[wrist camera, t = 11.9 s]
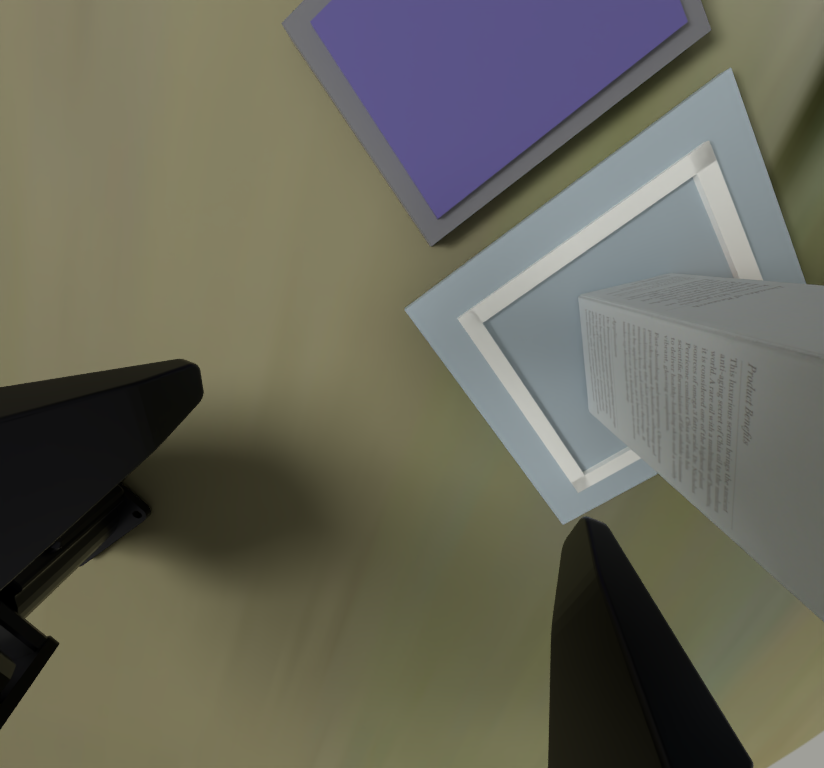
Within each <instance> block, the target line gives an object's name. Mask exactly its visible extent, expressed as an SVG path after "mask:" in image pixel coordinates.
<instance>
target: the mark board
mask: <svg viewBox="0 0 824 768" xmlns="http://www.w3.org/2000/svg"><path fill="white" fill-rule="evenodd" d="M668 273H678V274H690V275H701V276H713V277H725V278H737V279H750V280H763V281H775V282H786V283H799V284H806V282H805V279H804V276H803V273H802V270H801V267H800V265H799V262H798V259H797V256H796V253H795V250H794V247H793V244H792V242H791V239H790V236H789V233H788V230H787V227H786V224H785V221H784V219H783V216H782V213H781V210H780V207H779V204H778V201H777V198H776V196H775V193H774V190H773V187H772V184H771V181H770V178H769V175H768V173H767V170H766V167H765V164H764V161H763V158H762V155H761V152H760V150H759V147H758V144H757V141H756V138H755V135H754V132H753V129H752V127H751V124H750V121H749V118H748V115H747V112H746V109H745V106H744V104H743V101H742V98H741V95H740V92H739V89H738V86H737V83H736V81H735V78H734V75H733V72H732V69H731V68H729V69H727V70H725V71H724V72H722V73H720V74H718V75H717V76H716V77H714V78H713V79H712V80H710V81H709V82H707V83H706V84H705V85H703V86H702V87H701V88H699V89H698V90H697V91H695V92H694V93H693V94H691V95H690V96H689V97H687V98H686V99H685V100H683V101H682V102H681V103H679V104H678V105H677V106H675V107H674V108H673V109H671V110H670V111H669V112H667V113H666V114H665V115H663V116H662V117H661V118H659V119H658V120H656V121H655V122H654V123H652V124H651V125H650V126H648V127H647V128H646V129H644V130H643V131H642V132H640V133H639V134H638V135H636V136H635V137H634V138H632V139H631V140H630V141H628V142H627V143H626V144H624V145H623V146H622V147H620V148H619V149H618V150H616V151H615V152H614V153H612V154H611V155H609V156H608V157H607V158H605V159H604V160H603V161H601V162H600V163H599V164H597V165H596V166H595V167H593V168H592V169H591V170H589V171H588V172H587V173H585V174H584V175H583V176H581V177H580V178H579V179H577V180H576V181H575V182H573V183H572V184H571V185H569V186H568V187H567V188H565V189H564V190H563V191H561V192H560V193H558V194H557V195H556V196H554V197H553V198H552V199H550V200H549V201H548V202H546V203H545V204H544V205H542V206H541V207H540V208H538V209H537V210H536V211H534V212H533V213H532V214H530V215H529V216H528V217H526V218H525V219H524V220H522V221H521V222H520V223H518V224H517V225H516V226H514V227H513V228H511V229H510V230H509V231H507V232H506V233H505V234H503V235H502V236H501V237H499V238H498V239H497V240H495V241H494V242H493V243H491V244H490V245H489V246H487V247H486V248H485V249H483V250H482V251H481V252H479V253H478V254H477V255H475V256H474V257H473V258H471V259H470V260H469V261H467V262H466V263H465V264H463V265H462V266H460V267H459V268H458V269H456V270H455V271H454V272H452V273H451V274H450V275H448V276H447V277H446V278H444V279H443V280H442V281H440V282H439V283H438V284H436V285H435V286H434V287H432V288H431V289H430V290H428V291H427V292H426V293H424V294H423V295H422V296H420V297H419V298H418V299H416V300H415V301H414V302H412V303H411V304H409V305H408V306H407V307H405V311H406V312H407V314H408V315H409V317H410V318H411V319H412V321H413V322H414V323H415V325H416V326H417V327H418V329H419V330H420V331H421V333H422V334H423V336H424V337H425V338H426V340H427V341H428V342H429V344H430V345H431V346H432V348H433V349H434V350H435V352H436V353H437V355H438V356H439V357H440V359H441V360H442V361H443V363H444V364H445V365H446V367H447V368H448V370H449V371H450V372H451V374H452V375H453V376H454V378H455V379H456V380H457V382H458V383H459V384H460V386H461V387H462V389H463V390H464V391H465V393H466V394H467V395H468V397H469V398H470V399H471V401H472V402H473V403H474V405H475V406H476V408H477V409H478V410H479V412H480V413H481V414H482V416H483V417H484V418H485V420H486V421H487V422H488V424H489V425H490V427H491V428H492V429H493V431H494V432H495V433H496V435H497V436H498V437H499V439H500V440H501V441H502V443H503V444H504V446H505V447H506V448H507V450H508V451H509V452H510V454H511V455H512V456H513V458H514V459H515V460H516V462H517V463H518V465H519V466H520V467H521V469H522V470H523V471H524V473H525V474H526V475H527V477H528V478H529V479H530V481H531V482H532V484H533V485H534V486H535V488H536V489H537V490H538V492H539V493H540V494H541V496H542V497H543V498H544V500H545V501H546V503H547V504H548V505H549V507H550V508H551V509H552V511H553V512H554V513H555V515H556V516H557V517H558V519H559V520H560V522H561V523H562V524H565V523H567V522H569V521H571V520H573V519H575V518H576V517H578V516H580V515H582V514H584V513H586V512H588V511H589V510H591V509H593V508H595V507H597V506H599V505H601V504H602V503H604V502H606V501H608V500H610V499H612V498H614V497H615V496H617V495H619V494H621V493H623V492H625V491H627V490H628V489H630V488H632V487H634V486H636V485H638V484H640V483H641V482H643V481H645V480H647V479H649V478H651V477H653V476H655V475H656V474H658V473H657V472H656V471H655V470H654V469H653V468H651V467H650V466H649V465H648V464H647V463H646V462H645V461H644V460H643V459H641V458H640V457H639V456H638V455H637V454H636V453H635V452H634V451H632V450H631V449H630V448H629V447H628V446H627V445H626V444H624V443H623V442H622V441H621V440H620V439H619V438H618V437H617V436H616V435H614V434H613V433H612V432H611V431H610V430H609V429H608V428H607V427H606V426H604V425H603V424H602V423H601V422H600V421H599V420H598V419H597V418H596V417H594V416H593V415H592V414H591V413H590V412H589V409H588V396H587V386H586V375H585V365H584V355H583V344H582V333H581V322H580V311H579V302H578V297H579V295H581V294H584V293H588V292H592V291H597V290H601V289H605V288H609V287H613V286H618V285H622V284H626V283H631V282H635V281H639V280H644V279H648V278H652V277H655V276H659V275H663V274H668Z"/></svg>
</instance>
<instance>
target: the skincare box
mask: <svg viewBox="0 0 824 768" xmlns="http://www.w3.org/2000/svg"><path fill="white" fill-rule="evenodd" d="M578 302H579V311H580V322H581V333H582V344H583V355H584V365H585V375H586V386H587V396H588V409H589V412H590V413H591V414H592V415H593V416H594V417H596V418H597V419H598V420H599V421H600V422H601V423H602V424H603V425H604V426H606V427H607V428H608V429H609V430H610V431H611V432H612V433H613V434H614V435H616V436H617V437H618V438H619V439H620V440H621V441H622V442H623V443H624V444H626V445H627V446H628V447H629V448H630V449H631V450H632V451H634V452H635V453H636V454H637V455H638V456H639V457H640V458H641V459H643V460H644V461H645V462H646V463H647V464H648V465H649V466H650V467H651V468H653V469H654V470H655V471H656V472H657V473H658V474H659V475H660V476H662V477H663V478H664V479H665V480H666V481H667V482H668V483H669V484H670V485H671V486H673V487H674V488H675V489H676V490H677V491H678V492H679V493H681V494H682V495H683V496H684V497H685V498H686V499H687V500H688V501H689V502H691V503H692V504H693V505H694V506H695V507H696V508H697V509H698V510H700V511H701V512H702V513H703V514H704V515H705V516H706V517H707V518H708V519H709V520H711V521H712V522H713V523H714V524H715V525H716V526H717V527H719V528H720V529H721V530H722V531H723V532H724V533H725V534H726V535H727V536H729V537H730V538H731V539H732V540H733V541H734V542H735V543H736V544H737V545H739V546H740V547H741V548H742V549H743V550H744V551H745V552H746V553H747V554H749V555H750V556H751V557H752V558H753V559H754V560H755V561H756V562H757V563H758V564H760V565H761V566H762V567H763V568H764V569H765V570H766V571H767V572H768V573H770V574H771V575H772V576H773V577H774V578H775V579H776V580H777V581H778V582H780V583H781V584H782V585H783V586H784V587H785V588H786V589H787V590H789V591H790V592H791V593H792V594H793V595H794V596H795V597H796V598H798V599H799V600H800V601H801V602H802V603H803V604H804V605H805V606H806V607H808V608H809V609H810V610H811V611H812V612H813V613H814V614H815V615H816V616H818V617H819V618H820V619H821V620H822V621H823V622H824V286H822V285H810V284H799V283H786V282H775V281H763V280H750V279H737V278H725V277H713V276H701V275H690V274H678V273H668V274H663V275H659V276H655V277H652V278H648V279H644V280H639V281H635V282H631V283H626V284H622V285H618V286H613V287H609V288H605V289H601V290H597V291H592V292H588V293H584V294H581V295H579V297H578Z"/></svg>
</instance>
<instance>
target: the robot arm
mask: <svg viewBox="0 0 824 768" xmlns="http://www.w3.org/2000/svg"><path fill="white" fill-rule="evenodd" d="M203 393H204V391H203V385H202V379H201V372H200V368H199V367H198V365H196V364H195V363H192V362H190V361H187V360H184V359H174V360H168V361H162V362H156V363H149V364H143V365H137V366H131V367H124V368H118V369H112V370H106V371H99V372H93V373H87V374H81V375H74V376H68V377H62V378H56V379H49V380H43V381H37V382H31V383H24V384H18V385H12V386H6V387H0V729H1V728H2V726H3V725H4V724H5V722H6V721H7V719H8V718H9V716H10V715H11V713H12V712H13V710H14V709H15V708H16V706H17V705H18V703H19V702H20V700H21V699H22V697H23V696H24V695H25V693H26V692H27V690H28V689H29V687H30V686H31V684H32V683H33V681H34V680H35V679H36V677H37V676H38V674H39V673H40V671H41V670H42V668H43V667H44V666H45V664H46V663H47V661H48V660H49V658H50V657H51V655H52V654H53V652H54V651H55V650H56V648H57V647H58V645H59V642H58V641H56V640H55V639H54V638H53V637H51V636H45V635H44V634H43V633H42V632H41V631H39V630H38V629H37V628H36V627H34V626H33V625H32V624H31V623H29V622H28V621H27V620H26V619H25V618H26V617H27V616H28V615H29V614H30V613H31V612H32V611H33V610H34V609H35V608H36V607H37V606H39V605H40V604H41V603H42V602H43V601H44V600H45V599H46V598H47V597H48V596H49V595H50V594H51V593H52V592H53V591H54V590H55V589H56V588H57V587H58V586H59V585H60V584H61V583H62V582H63V581H64V580H65V579H66V578H67V577H68V576H70V575H71V574H72V573H73V572H74V571H75V570H76V569H77V568H78V567H79V566H82V565H84V564H85V563H87V562H88V561H89V560H91V559H92V558H94V557H95V556H96V555H98V554H99V553H100V552H102V551H103V550H104V549H106V548H107V547H109V546H110V545H111V544H113V543H114V542H115V541H117V540H118V539H120V538H121V537H122V536H124V535H125V534H126V533H128V532H129V531H131V530H132V529H133V528H135V527H136V526H137V525H139V524H140V523H141V522H143V521H144V520H145V519H146V518H147V517H148V516H149V515H150V514H151V509H150V508H149V506H148V505H147V504H145V503H144V502H143V501H142V500H141V499H139V498H138V497H137V496H136V495H134V494H133V493H132V492H131V491H130V490H128V489H127V488H126V487H125V486H124V485H122V484H121V483H120V482H121V481H122V480H123V479H124V478H125V477H127V476H128V475H129V474H130V473H131V472H132V471H133V470H134V469H135V468H136V467H138V466H139V465H140V464H141V463H142V462H143V461H144V460H145V459H146V458H148V457H149V456H150V455H151V454H152V453H153V452H154V451H155V450H156V449H157V448H158V447H159V446H160V445H161V444H162V443H163V442H164V441H165V440H166V438H167V437H168V436H169V435H170V434H171V433H172V432H173V431H174V430H175V429H176V428H177V426H178V425H179V424H180V423H181V422H182V421H183V420H184V419H185V418H186V417H187V416H188V415H189V413H190V412H191V411H192V410H193V409H194V408H195V407H196V406H197V405H198V404H199V402H200V401H201V399H202V397H203ZM548 768H753V762H752V760H751V758H750V757H749V755H748V753H747V752H746V750H745V749H744V747H743V745H742V744H741V742H740V740H739V739H738V737H737V736H736V734H735V732H734V731H733V729H732V727H731V726H730V724H729V723H728V721H727V719H726V718H725V716H724V714H723V713H722V711H721V710H720V708H719V706H718V705H717V703H716V701H715V700H714V698H713V696H712V695H711V693H710V692H709V690H708V688H707V687H706V685H705V683H704V682H703V680H702V679H701V677H700V675H699V674H698V672H697V670H696V669H695V667H694V666H693V664H692V662H691V661H690V659H689V657H688V656H687V654H686V653H685V651H684V649H683V648H682V646H681V644H680V643H679V641H678V640H677V638H676V636H675V635H674V633H673V631H672V630H671V628H670V627H669V625H668V623H667V622H666V620H665V618H664V617H663V615H662V614H661V612H660V610H659V609H658V607H657V605H656V604H655V602H654V601H653V599H652V597H651V596H650V594H649V592H648V591H647V589H646V588H645V586H644V584H643V583H642V581H641V579H640V578H639V576H638V574H637V573H636V571H635V570H634V568H633V566H632V565H631V563H630V561H629V560H628V558H627V557H626V555H625V553H624V552H623V550H622V548H621V547H620V545H619V544H618V542H617V540H616V539H615V537H614V535H613V534H612V532H611V531H610V529H609V528H608V526H607V525H606V524H604V523H603V522H600V521H598V520H595V519H592V518H590V517H586V516H585V517H582V518H581V519H580V520H579V521H578V523H577V524H576V526H575V527H574V528H573V530H572V531H571V533H570V534H569V535H568V537H567V538H566V540H565V542H564V544H563V548H562V553H561V560H560V567H559V575H558V582H557V589H556V596H555V604H554V611H553V619H552V630H551V661H550V707H549V752H548Z"/></svg>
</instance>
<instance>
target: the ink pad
mask: <svg viewBox="0 0 824 768" xmlns="http://www.w3.org/2000/svg"><path fill="white" fill-rule="evenodd" d="M282 25H283V27H284V29H285V30H286V32H287V34H288V36H289V37H290V39H291V40H292V42H293V43H294V45H295V46H296V48H297V49H298V51H299V52H300V54H301V55H302V57H303V58H304V60H305V61H306V63H307V64H308V66H309V67H310V69H311V70H312V72H313V73H314V75H315V76H316V78H317V79H318V81H319V82H320V84H321V85H322V86H323V88H324V89H325V91H326V92H327V94H328V95H329V97H330V98H331V100H332V101H333V103H334V104H335V106H336V107H337V109H338V110H339V112H340V113H341V115H342V116H343V118H344V119H345V121H346V122H347V124H348V125H349V127H350V128H351V130H352V131H353V133H354V134H355V136H356V137H357V139H358V140H359V142H360V143H361V145H362V146H363V147H364V149H365V150H366V152H367V153H368V155H369V156H370V158H371V159H372V161H373V162H374V164H375V165H376V167H377V168H378V170H379V171H380V173H381V174H382V176H383V177H384V179H385V180H386V182H387V183H388V185H389V186H390V188H391V189H392V191H393V192H394V194H395V195H396V197H397V198H398V200H399V201H400V203H401V204H402V206H403V207H404V208H405V210H406V211H407V213H408V214H409V216H410V217H411V219H412V220H413V222H414V223H415V225H416V226H417V228H418V229H419V231H420V232H421V234H422V235H423V237H424V238H425V240H426V241H427V243H428V244H429V246H432V245H434V244H435V243H436V242H438V241H439V240H440V239H442V238H443V237H444V236H445V235H447V234H448V233H449V232H451V231H452V230H453V229H454V228H456V227H457V226H458V225H460V224H461V223H462V222H464V221H465V220H466V219H467V218H469V217H470V216H471V215H473V214H474V213H475V212H476V211H478V210H479V209H480V208H482V207H483V206H484V205H486V204H487V203H488V202H489V201H491V200H492V199H493V198H495V197H496V196H497V195H498V194H500V193H501V192H502V191H504V190H505V189H506V188H508V187H509V186H510V185H511V184H513V183H514V182H515V181H517V180H518V179H519V178H520V177H522V176H523V175H524V174H526V173H527V172H528V171H530V170H531V169H532V168H533V167H535V166H536V165H537V164H539V163H540V162H541V161H542V160H544V159H545V158H546V157H548V156H549V155H550V154H551V153H553V152H554V151H555V150H557V149H558V148H559V147H561V146H562V145H563V144H564V143H566V142H567V141H568V140H570V139H571V138H572V137H573V136H575V135H576V134H577V133H579V132H580V131H581V130H583V129H584V128H585V127H586V126H588V125H589V124H590V123H592V122H593V121H594V120H595V119H597V118H598V117H599V116H601V115H602V114H603V113H605V112H606V111H607V110H608V109H610V108H611V107H612V106H614V105H615V104H616V103H617V102H619V101H620V100H621V99H623V98H624V97H625V96H627V95H628V94H629V93H630V92H632V91H633V90H634V89H636V88H637V87H638V86H639V85H641V84H642V83H643V82H645V81H646V80H647V79H649V78H650V77H651V76H652V75H654V74H655V73H656V72H658V71H659V70H660V69H661V68H663V67H664V66H665V65H667V64H668V63H669V62H670V61H672V60H673V59H674V58H676V57H677V56H678V55H680V54H681V53H682V52H683V51H685V50H686V49H687V48H689V47H690V46H691V45H692V44H694V43H695V42H696V41H698V40H699V39H700V38H702V37H703V36H704V35H705V34H707V33H708V32H709V31H711V28H710V25H709V22H708V19H707V16H706V13H705V11H704V8H703V5H702V2H701V0H304V1H303V2H302V3H301V4H300V5H299V6H298V7H297V8H296V9H295V10H294V11H293V12H292V13H291V14H290V15H289V16H288V17H287V18H286V19H285V20H284V21H283V22H282Z"/></svg>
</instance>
